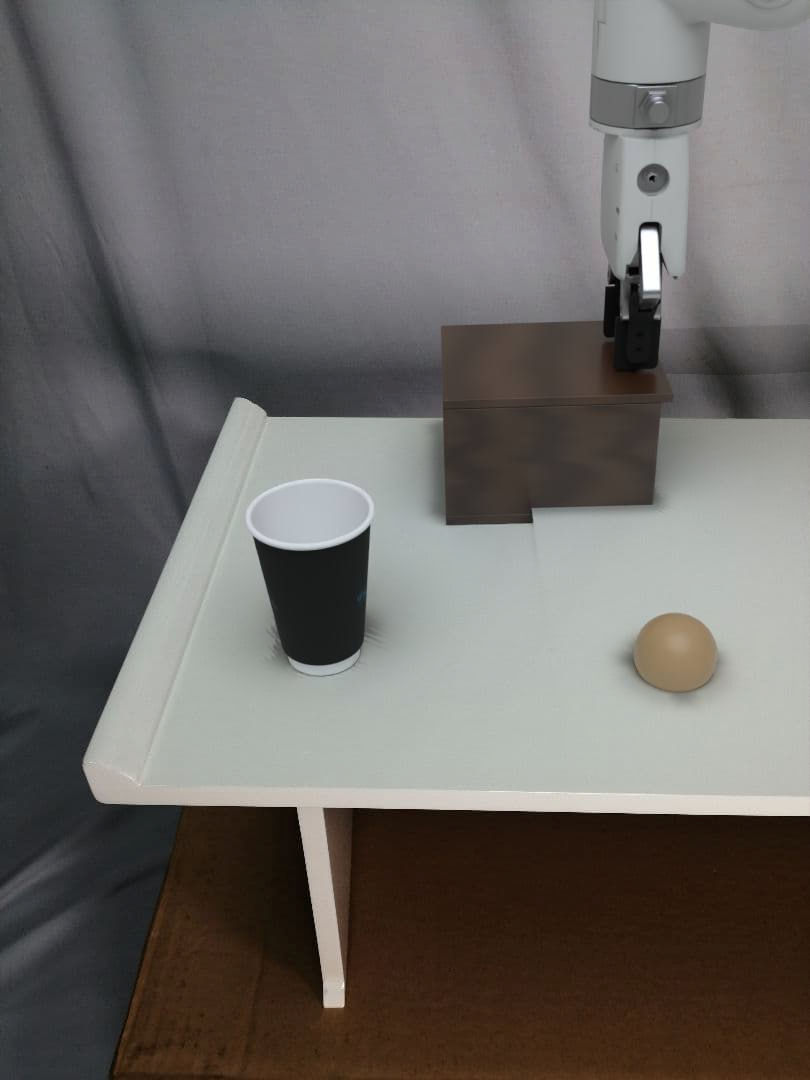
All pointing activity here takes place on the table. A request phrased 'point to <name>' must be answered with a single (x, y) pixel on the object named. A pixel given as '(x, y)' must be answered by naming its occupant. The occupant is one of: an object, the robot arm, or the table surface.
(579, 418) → the box
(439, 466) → the table surface
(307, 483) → the dixie cup
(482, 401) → the box lid
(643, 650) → the tan ball
